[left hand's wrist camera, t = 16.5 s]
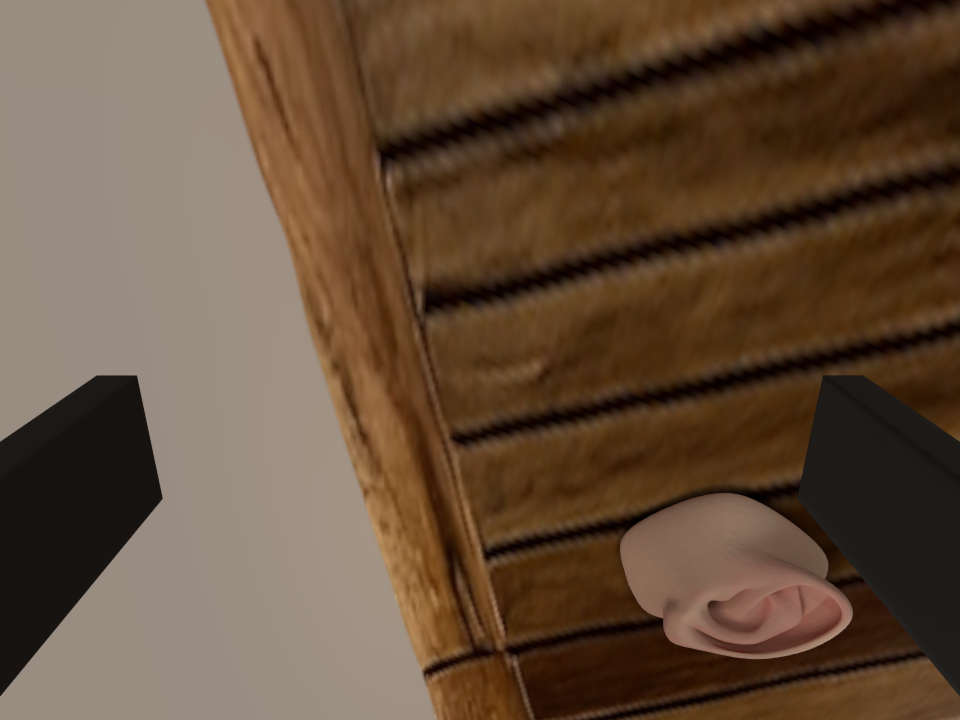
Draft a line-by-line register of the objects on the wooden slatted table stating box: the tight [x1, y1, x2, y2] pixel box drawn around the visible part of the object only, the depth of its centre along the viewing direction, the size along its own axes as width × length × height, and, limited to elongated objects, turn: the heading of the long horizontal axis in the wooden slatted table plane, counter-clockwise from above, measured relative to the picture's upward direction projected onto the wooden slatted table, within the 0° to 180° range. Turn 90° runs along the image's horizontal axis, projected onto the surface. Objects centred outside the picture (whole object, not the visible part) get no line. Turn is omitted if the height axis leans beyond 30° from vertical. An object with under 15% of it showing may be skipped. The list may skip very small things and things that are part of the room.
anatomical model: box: [620, 493, 853, 659], centre depth 41 cm, size 13×4×12 cm
